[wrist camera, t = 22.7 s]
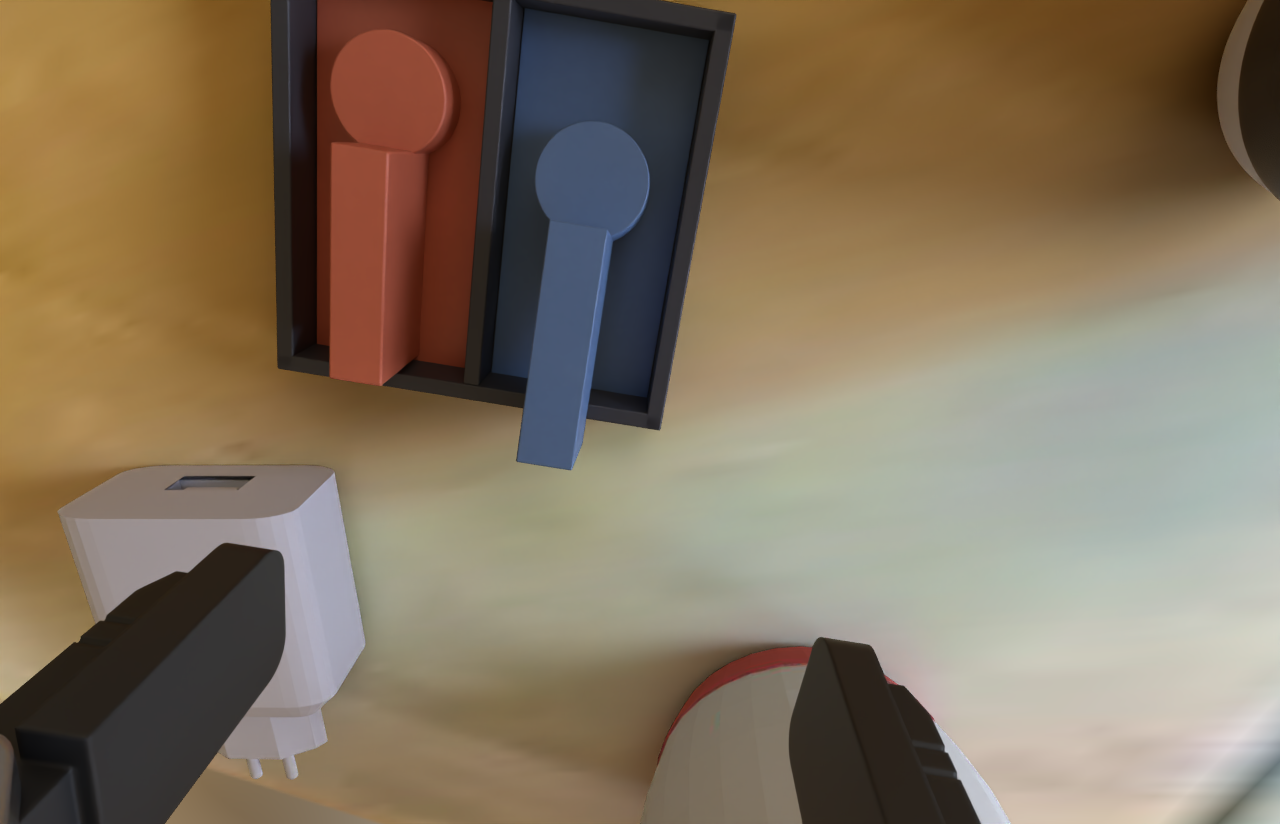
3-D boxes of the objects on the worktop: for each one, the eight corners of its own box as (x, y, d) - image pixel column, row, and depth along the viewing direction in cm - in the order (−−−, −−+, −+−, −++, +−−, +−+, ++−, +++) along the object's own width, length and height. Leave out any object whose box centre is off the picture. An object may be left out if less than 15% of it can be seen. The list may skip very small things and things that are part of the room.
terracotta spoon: (348, 344, 28) (298, 374, 24) (353, 28, 24) (294, 5, 20) (444, 359, 28) (410, 391, 24) (465, 47, 24) (427, 28, 20)
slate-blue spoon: (508, 432, 26) (484, 456, 23) (549, 124, 25) (532, 92, 21) (608, 448, 27) (602, 475, 23) (657, 142, 25) (660, 113, 21)
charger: (211, 735, 36) (132, 464, 31) (390, 737, 35) (342, 463, 30) (146, 817, 31) (41, 517, 26) (351, 821, 31) (286, 517, 26)
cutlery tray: (307, -48, 24) (268, -70, 21) (729, 27, 24) (736, 13, 22) (308, 351, 29) (277, 369, 26) (660, 408, 29) (659, 431, 27)
